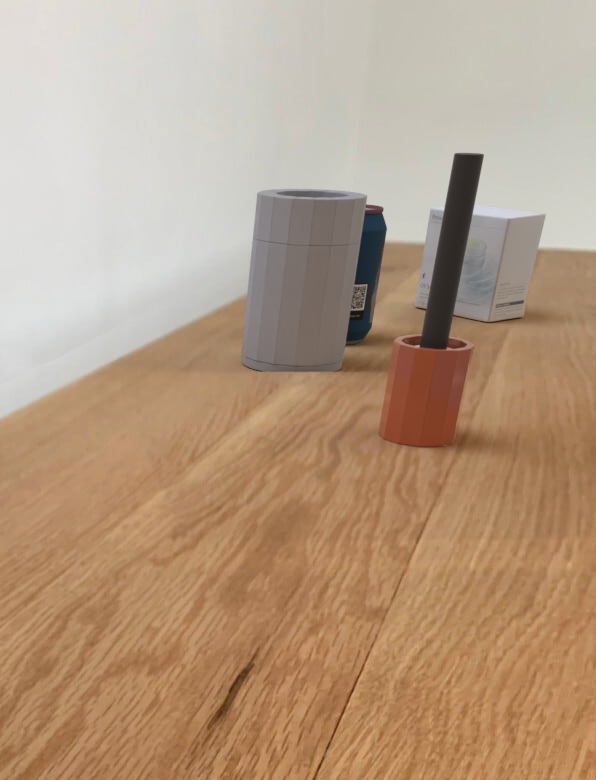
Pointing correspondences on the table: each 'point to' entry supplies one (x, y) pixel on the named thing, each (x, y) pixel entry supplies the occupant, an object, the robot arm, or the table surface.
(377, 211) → the soda can
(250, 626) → the table surface
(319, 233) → the grey cylindrical canister
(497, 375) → the table surface
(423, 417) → the brush pot
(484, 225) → the cosmetics box
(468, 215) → the dark grey rod
